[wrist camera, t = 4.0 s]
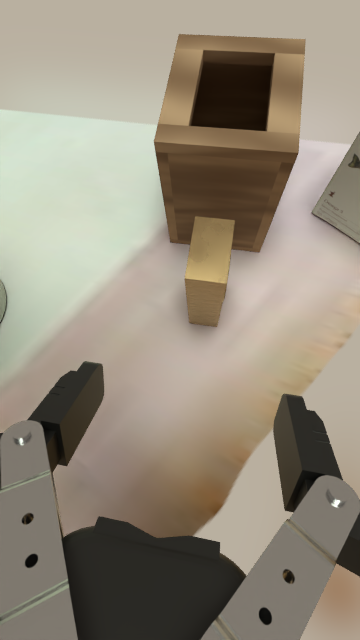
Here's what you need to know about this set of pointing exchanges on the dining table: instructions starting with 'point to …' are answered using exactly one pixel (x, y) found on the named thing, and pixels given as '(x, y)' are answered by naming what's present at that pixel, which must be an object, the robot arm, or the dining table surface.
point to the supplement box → (343, 195)
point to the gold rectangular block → (208, 269)
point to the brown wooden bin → (229, 132)
